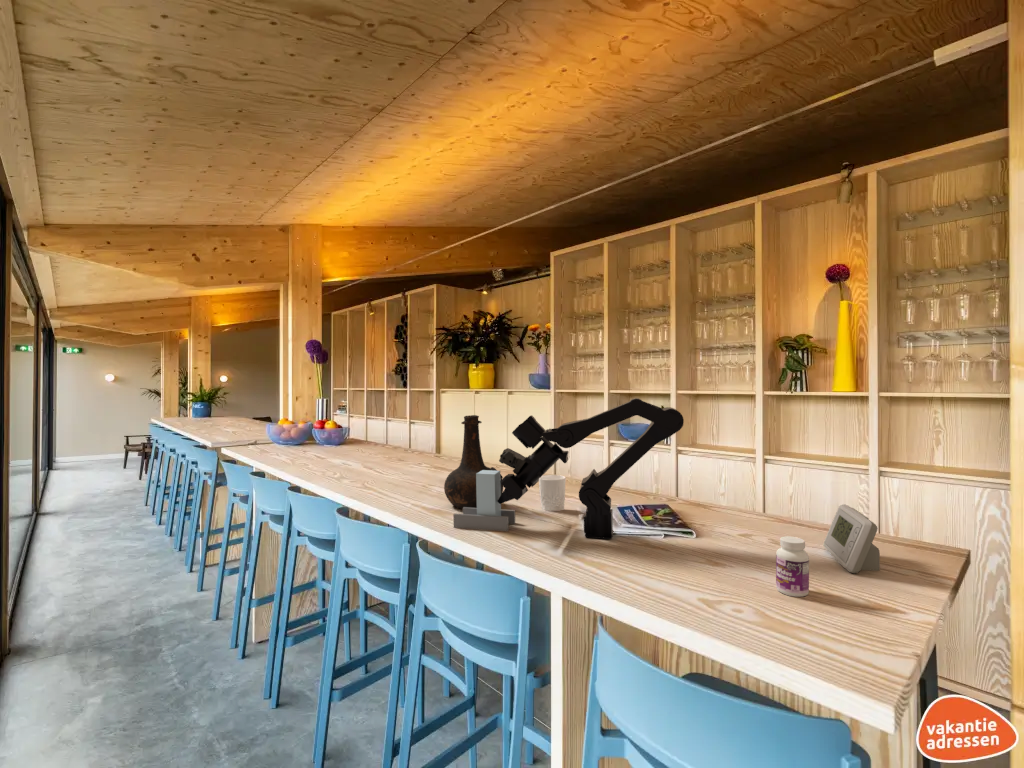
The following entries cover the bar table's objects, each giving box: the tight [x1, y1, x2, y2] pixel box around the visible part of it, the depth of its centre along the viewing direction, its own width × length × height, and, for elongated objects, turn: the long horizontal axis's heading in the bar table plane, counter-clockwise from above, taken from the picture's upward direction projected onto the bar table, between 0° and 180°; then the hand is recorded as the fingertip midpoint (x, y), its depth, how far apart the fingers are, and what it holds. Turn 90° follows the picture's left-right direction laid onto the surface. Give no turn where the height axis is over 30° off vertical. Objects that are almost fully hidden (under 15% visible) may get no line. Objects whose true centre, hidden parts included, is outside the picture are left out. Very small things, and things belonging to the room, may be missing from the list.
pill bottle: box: [775, 535, 810, 598], centre depth 98 cm, size 5×5×10 cm
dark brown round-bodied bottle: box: [443, 414, 504, 510], centre depth 162 cm, size 18×18×28 cm
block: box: [476, 470, 502, 516], centre depth 140 cm, size 5×5×14 cm
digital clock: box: [822, 503, 881, 574], centre depth 112 cm, size 16×9×11 cm, turn 154°
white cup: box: [538, 474, 567, 512], centre depth 157 cm, size 8×8×10 cm
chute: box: [453, 507, 516, 532], centre depth 140 cm, size 14×8×4 cm, turn 74°
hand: (499, 502), depth 139 cm, fingers closed, pressing on block
